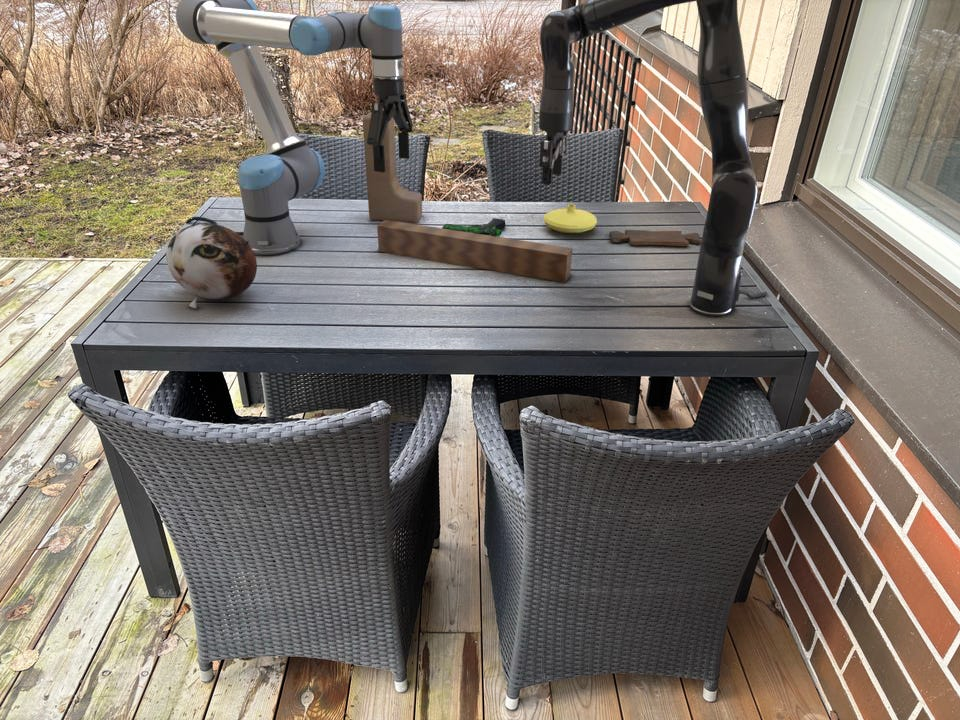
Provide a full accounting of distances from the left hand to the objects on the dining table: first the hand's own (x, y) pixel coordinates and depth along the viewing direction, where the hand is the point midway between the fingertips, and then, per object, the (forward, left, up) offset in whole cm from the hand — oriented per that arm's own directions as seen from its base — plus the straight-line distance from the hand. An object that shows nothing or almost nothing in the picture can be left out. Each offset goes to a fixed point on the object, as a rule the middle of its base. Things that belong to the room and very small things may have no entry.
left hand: (392, 164), depth 183 cm
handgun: (+10, +24, -23) cm, 35 cm away
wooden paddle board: (+56, +48, -23) cm, 77 cm away
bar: (+22, +4, -23) cm, 32 cm away
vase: (+31, +42, -23) cm, 57 cm away
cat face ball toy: (-16, -47, -23) cm, 55 cm away
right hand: (+42, +9, +1) cm, 42 cm away
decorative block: (-16, +20, -23) cm, 35 cm away
